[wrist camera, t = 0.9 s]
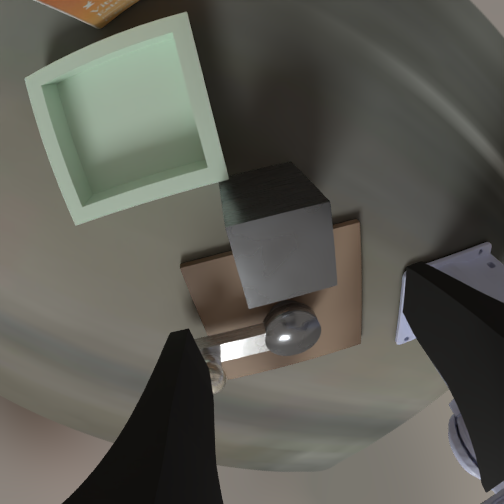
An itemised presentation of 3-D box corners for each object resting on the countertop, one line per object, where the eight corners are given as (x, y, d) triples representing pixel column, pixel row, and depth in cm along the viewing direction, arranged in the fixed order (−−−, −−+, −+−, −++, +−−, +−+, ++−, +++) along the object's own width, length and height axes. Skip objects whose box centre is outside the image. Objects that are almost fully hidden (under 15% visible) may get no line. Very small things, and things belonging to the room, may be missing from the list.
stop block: (291, 161, 17) (330, 201, 12) (301, 226, 19) (337, 285, 14) (218, 179, 17) (225, 227, 12) (235, 242, 19) (248, 309, 14)
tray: (189, 20, 12) (186, 11, 11) (226, 167, 17) (229, 179, 15) (44, 76, 12) (24, 78, 10) (88, 208, 16) (75, 225, 15)
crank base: (356, 218, 19) (364, 227, 18) (358, 339, 25) (363, 349, 24) (180, 263, 19) (179, 274, 18) (227, 375, 25) (228, 386, 24)
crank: (313, 295, 20) (333, 339, 16) (317, 334, 22) (335, 377, 18) (176, 329, 20) (174, 378, 16) (194, 364, 22) (196, 410, 18)
